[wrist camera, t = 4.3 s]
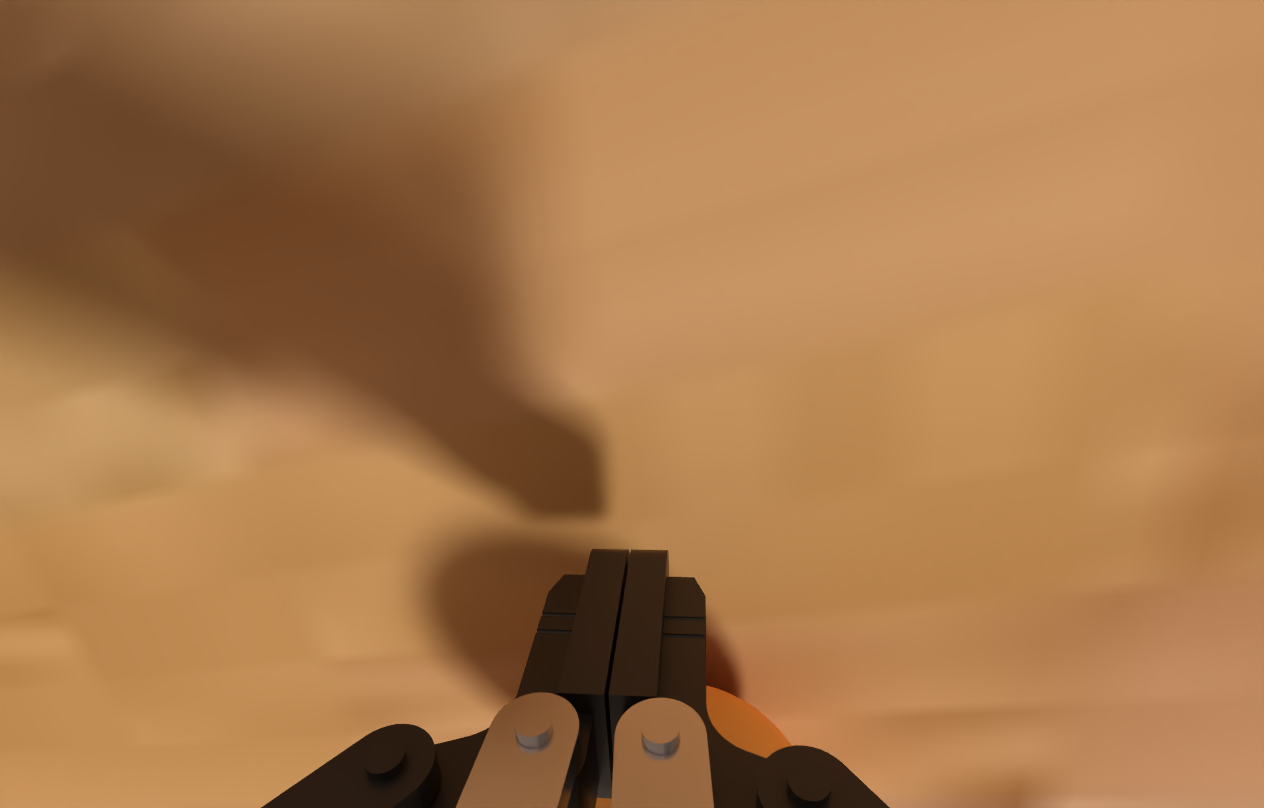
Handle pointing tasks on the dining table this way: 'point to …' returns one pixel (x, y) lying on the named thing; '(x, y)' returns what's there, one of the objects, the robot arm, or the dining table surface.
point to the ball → (737, 727)
